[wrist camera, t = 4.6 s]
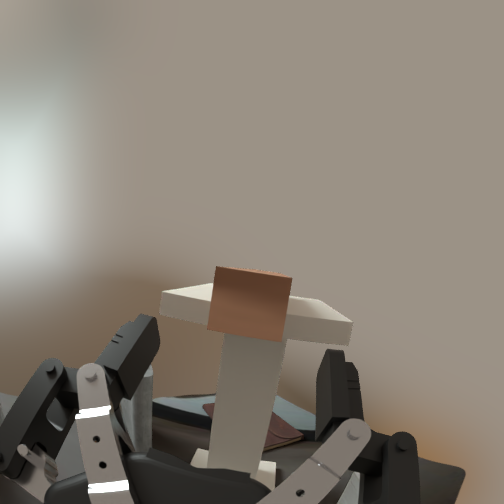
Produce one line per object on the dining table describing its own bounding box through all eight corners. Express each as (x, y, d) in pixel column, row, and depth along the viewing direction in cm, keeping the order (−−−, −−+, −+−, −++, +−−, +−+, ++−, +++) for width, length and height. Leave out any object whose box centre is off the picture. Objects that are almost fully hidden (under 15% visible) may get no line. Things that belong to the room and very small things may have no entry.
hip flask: (118, 413, 44) (118, 327, 46) (136, 413, 47) (138, 328, 48) (137, 461, 31) (135, 360, 32) (159, 459, 34) (162, 361, 35)
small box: (373, 503, 25) (399, 459, 25) (387, 522, 19) (418, 479, 20) (329, 513, 24) (352, 470, 25) (341, 535, 18) (369, 494, 19)
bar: (281, 342, 12) (292, 278, 12) (206, 329, 12) (215, 266, 13) (276, 295, 36) (280, 273, 36) (250, 291, 36) (254, 269, 36)
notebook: (242, 457, 40) (243, 450, 40) (202, 409, 56) (202, 402, 57) (302, 440, 47) (304, 433, 47) (254, 403, 64) (256, 397, 64)
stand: (277, 540, 19) (353, 322, 20) (157, 516, 20) (162, 291, 22) (279, 468, 37) (319, 299, 38) (192, 452, 38) (211, 283, 40)
